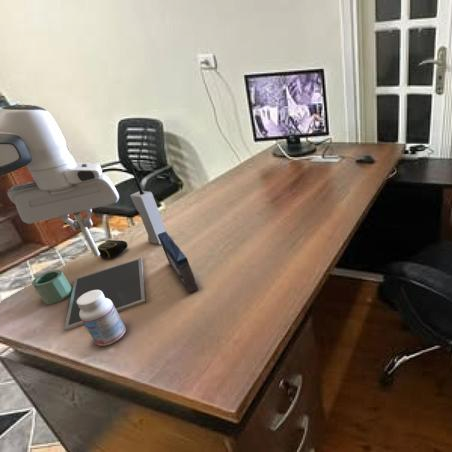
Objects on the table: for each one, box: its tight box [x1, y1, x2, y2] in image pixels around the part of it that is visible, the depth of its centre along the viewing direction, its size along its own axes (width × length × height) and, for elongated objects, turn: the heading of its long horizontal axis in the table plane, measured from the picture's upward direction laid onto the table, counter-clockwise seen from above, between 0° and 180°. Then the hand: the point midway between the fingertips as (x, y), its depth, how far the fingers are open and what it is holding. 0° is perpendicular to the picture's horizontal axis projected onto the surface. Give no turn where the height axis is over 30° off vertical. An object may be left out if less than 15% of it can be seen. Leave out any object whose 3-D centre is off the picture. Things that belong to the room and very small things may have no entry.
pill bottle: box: [77, 290, 127, 347], centre depth 74 cm, size 6×6×11 cm
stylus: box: [72, 212, 100, 257], centre depth 90 cm, size 1×1×13 cm
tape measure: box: [97, 239, 129, 259], centre depth 107 cm, size 7×7×4 cm
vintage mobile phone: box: [130, 167, 167, 246], centre depth 106 cm, size 4×5×25 cm
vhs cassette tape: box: [158, 231, 199, 294], centre depth 92 cm, size 18×3×10 cm, turn 36°
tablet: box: [63, 257, 147, 332], centre depth 91 cm, size 17×22×1 cm
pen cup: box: [31, 269, 73, 305], centre depth 90 cm, size 6×6×6 cm
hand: (83, 227), depth 89 cm, fingers closed on stylus, 1 cm apart
